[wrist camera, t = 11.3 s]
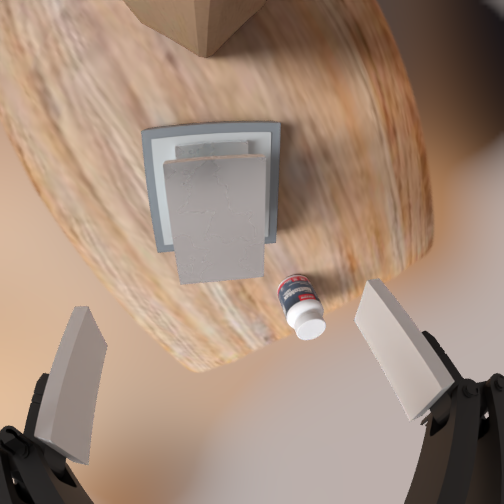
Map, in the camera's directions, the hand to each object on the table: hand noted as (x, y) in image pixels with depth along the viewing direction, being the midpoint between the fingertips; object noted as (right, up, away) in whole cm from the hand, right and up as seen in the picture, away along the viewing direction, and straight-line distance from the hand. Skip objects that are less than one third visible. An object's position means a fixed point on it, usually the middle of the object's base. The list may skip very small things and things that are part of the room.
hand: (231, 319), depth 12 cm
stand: (-4, +11, +19) cm, 22 cm away
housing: (-3, +10, +16) cm, 19 cm away
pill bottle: (+7, -2, +29) cm, 30 cm away
